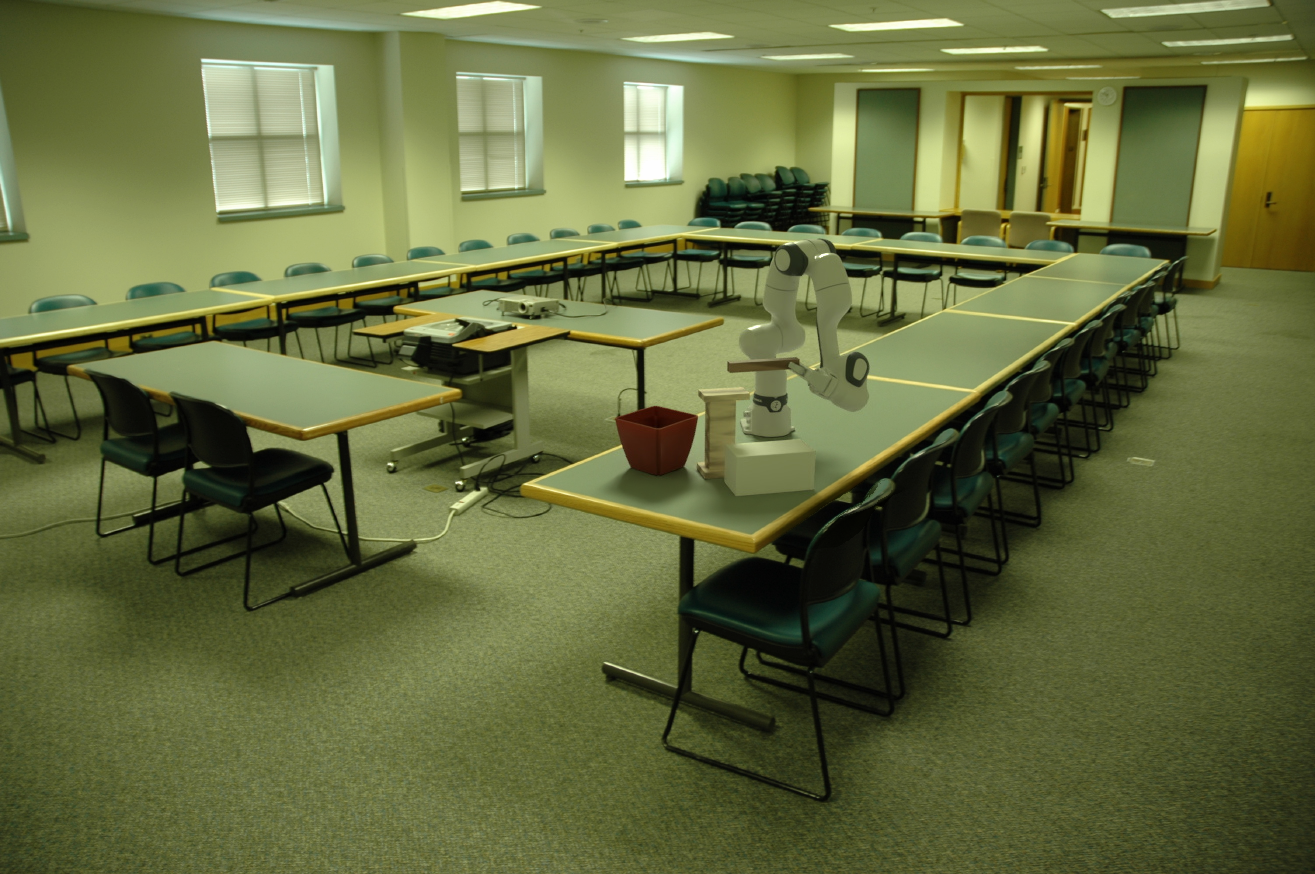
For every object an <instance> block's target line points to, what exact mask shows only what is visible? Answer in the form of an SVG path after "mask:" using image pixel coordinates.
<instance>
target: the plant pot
mask: <svg viewBox="0 0 1315 874" xmlns="http://www.w3.org/2000/svg"><path fill="white" fill-rule="evenodd" d="M698 419H699V415H698V414H693V413H690V412H685V411H682V410H681V411H680V410H676V409H671V408H668V407H664V406H659V405H652V406H648V407H645V408H642V409H638V410H635V411H632V412H629V413H626V414H622V415H620V416H617V417H615V419H614V420H615V425H616V426H615V427H616V431H617V433H618V437H619V440H620V444H621V446H622V450H623V452H624V454H625V455H624V456H625V457H626V460H627V463H628V465H629V467H630V468H631V469H634V470H637V471H640V472H643V473H647V474H649V475H654V476H657V477H658V476H662V475H665V474H668V473H671V472H673V471H676V470H678V469H680V468H684V467H685V465H686V463H687V461H688V459H689V456H690V453H691V451H692V446H693V444H694V439H695V435H696V431H697V426H698V422H699V420H698Z"/></svg>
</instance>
